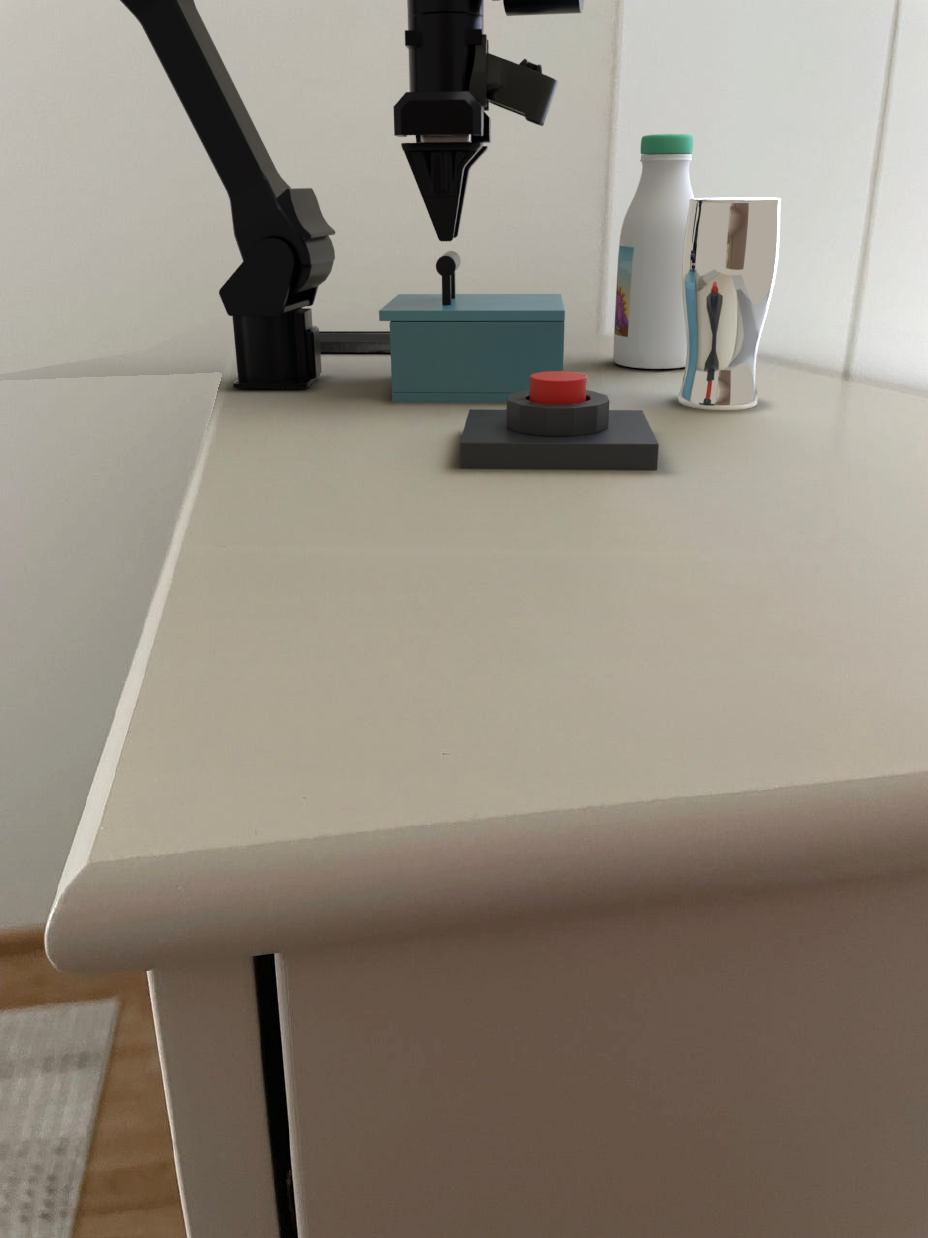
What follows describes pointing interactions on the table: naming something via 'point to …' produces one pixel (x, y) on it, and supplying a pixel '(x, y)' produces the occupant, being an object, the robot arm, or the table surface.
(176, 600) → the table surface
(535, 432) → the control box
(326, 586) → the table surface
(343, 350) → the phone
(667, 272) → the milk bottle
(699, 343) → the beer glass
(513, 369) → the teal rectangular box
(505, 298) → the lid
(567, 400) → the power button
